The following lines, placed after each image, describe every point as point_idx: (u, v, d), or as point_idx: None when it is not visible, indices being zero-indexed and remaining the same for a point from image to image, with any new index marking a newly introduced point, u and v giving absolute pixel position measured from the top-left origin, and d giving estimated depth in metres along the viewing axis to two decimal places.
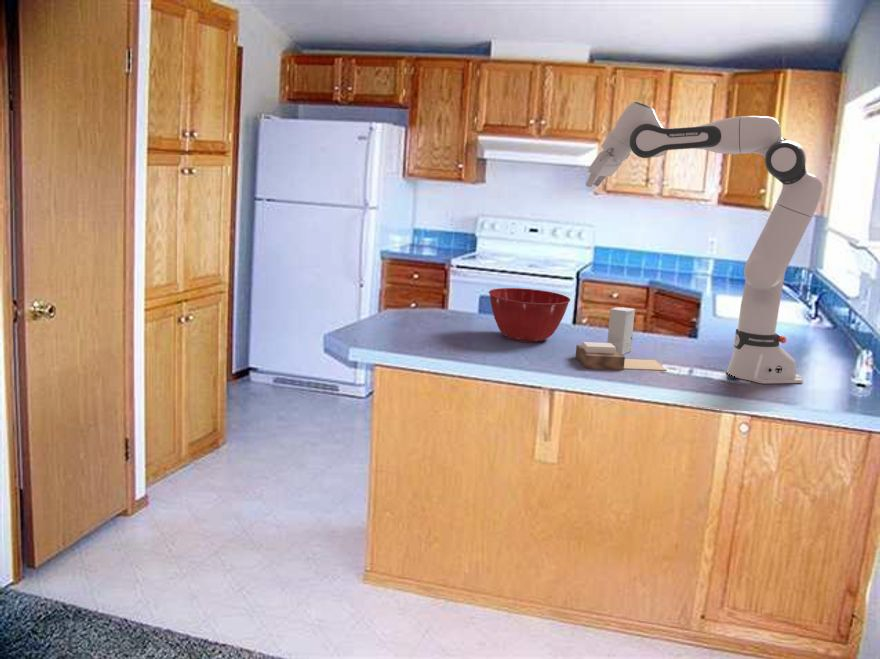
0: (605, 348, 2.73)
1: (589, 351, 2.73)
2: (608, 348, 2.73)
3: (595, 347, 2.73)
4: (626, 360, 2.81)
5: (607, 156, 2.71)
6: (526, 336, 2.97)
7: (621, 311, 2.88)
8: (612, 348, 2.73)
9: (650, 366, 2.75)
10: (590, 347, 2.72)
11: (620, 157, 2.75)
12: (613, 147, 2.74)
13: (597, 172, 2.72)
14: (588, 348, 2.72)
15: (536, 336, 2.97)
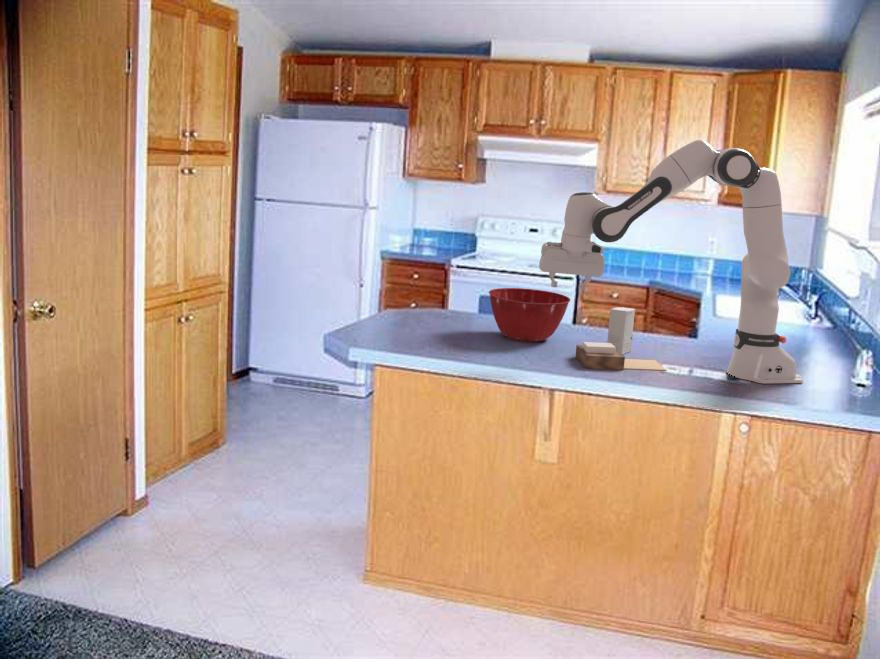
0: (605, 348, 2.73)
1: (589, 351, 2.73)
2: (608, 348, 2.73)
3: (595, 347, 2.73)
4: (626, 360, 2.81)
5: (547, 249, 2.69)
6: (526, 336, 2.97)
7: (621, 311, 2.88)
8: (612, 348, 2.73)
9: (650, 366, 2.75)
10: (590, 347, 2.72)
11: (568, 248, 2.67)
12: (561, 241, 2.70)
13: (541, 267, 2.69)
14: (588, 348, 2.72)
15: (536, 336, 2.97)
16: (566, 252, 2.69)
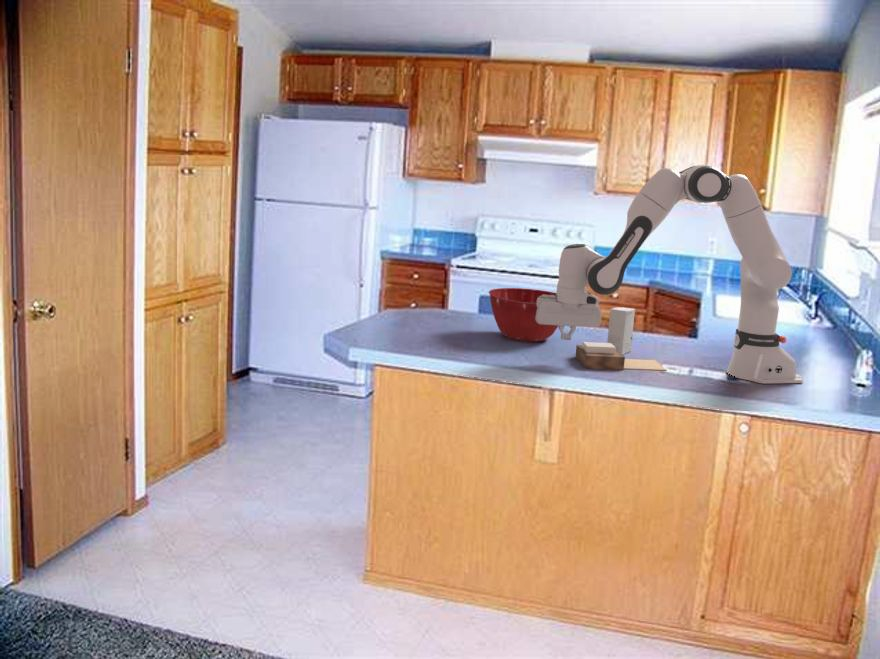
0: (605, 348, 2.73)
1: (589, 351, 2.73)
2: (608, 348, 2.73)
3: (595, 347, 2.73)
4: (626, 360, 2.81)
5: (541, 302, 2.70)
6: (526, 336, 2.97)
7: (621, 311, 2.88)
8: (612, 348, 2.73)
9: (650, 366, 2.75)
10: (590, 347, 2.72)
11: (563, 300, 2.68)
12: (556, 293, 2.71)
13: (537, 319, 2.71)
14: (588, 348, 2.72)
15: (536, 336, 2.97)
16: (561, 304, 2.70)
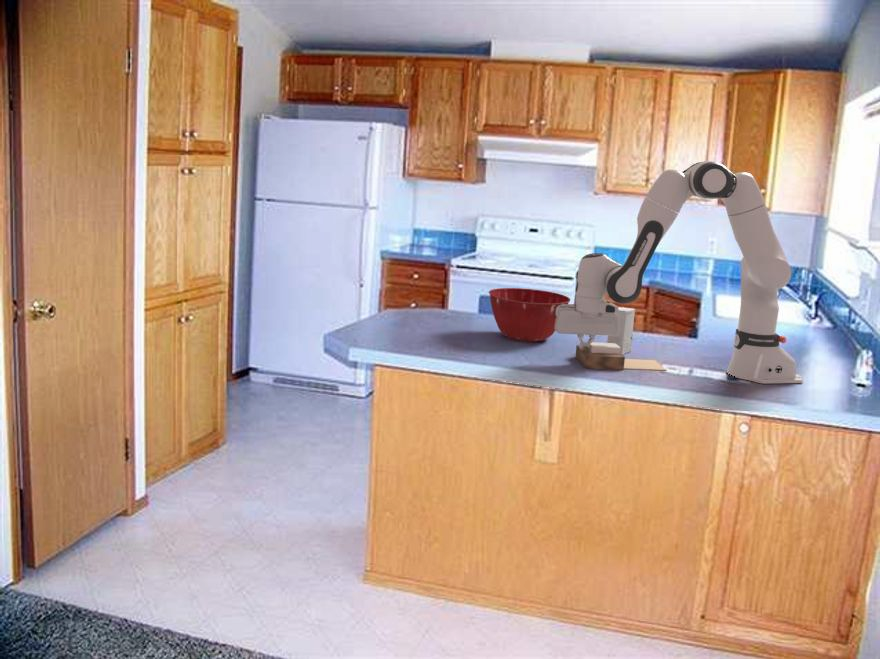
0: (610, 348, 2.73)
1: (594, 351, 2.73)
2: (613, 348, 2.73)
3: (600, 347, 2.73)
4: (626, 360, 2.81)
5: (561, 311, 2.71)
6: (526, 336, 2.97)
7: (621, 311, 2.88)
8: (617, 348, 2.73)
9: (650, 366, 2.75)
10: (595, 347, 2.73)
11: (582, 310, 2.69)
12: (575, 302, 2.72)
13: (556, 329, 2.72)
14: (593, 348, 2.73)
15: (536, 336, 2.97)
16: (580, 313, 2.71)
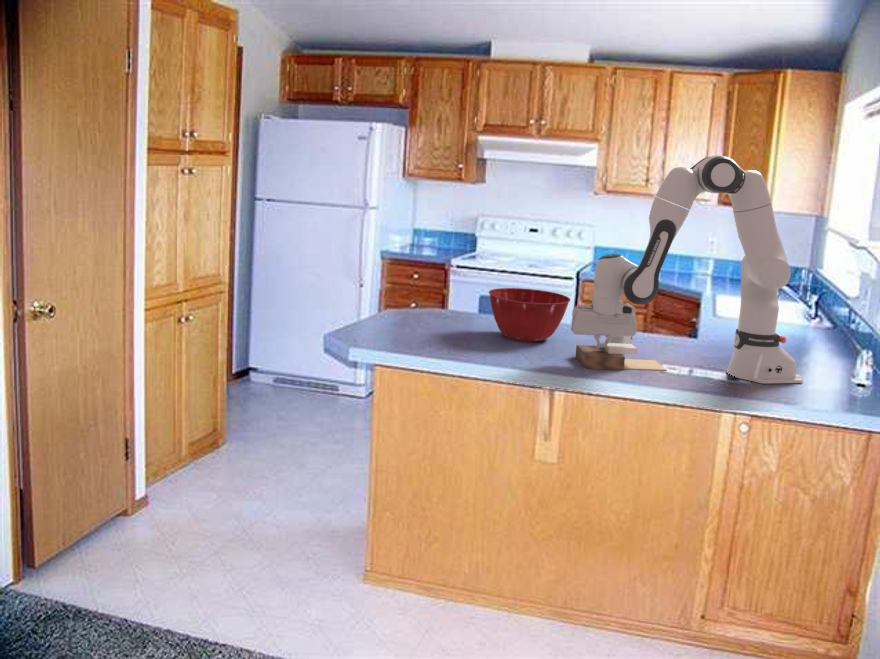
0: (627, 349, 2.73)
1: (611, 352, 2.73)
2: (630, 349, 2.73)
3: (617, 348, 2.73)
4: (626, 360, 2.81)
5: (577, 312, 2.72)
6: (526, 336, 2.97)
7: None
8: (634, 349, 2.74)
9: (650, 366, 2.75)
10: (612, 348, 2.73)
11: (599, 310, 2.70)
12: (592, 303, 2.72)
13: (573, 329, 2.72)
14: (610, 349, 2.73)
15: (536, 336, 2.97)
16: (597, 314, 2.71)
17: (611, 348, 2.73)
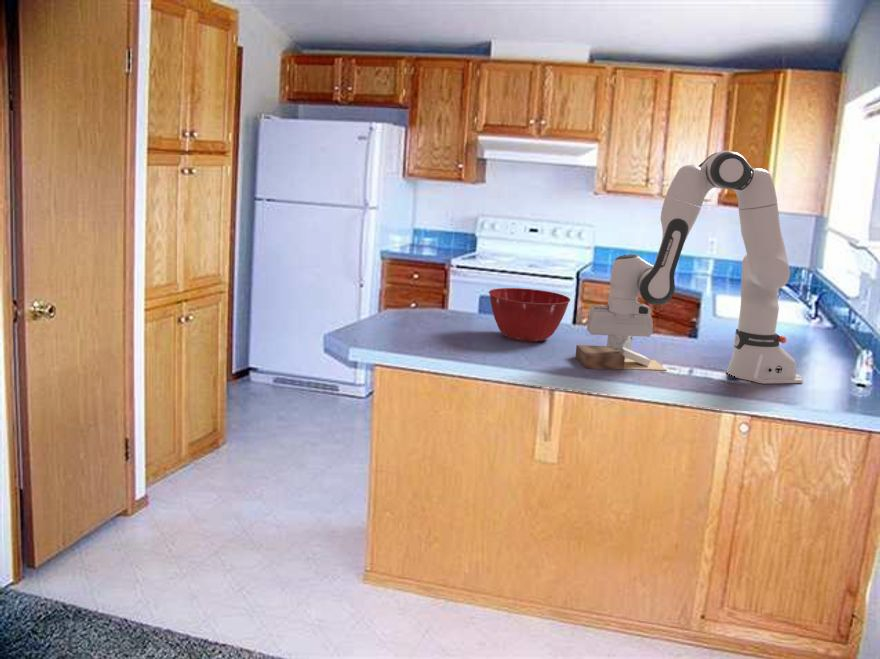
0: (641, 358, 2.74)
1: (625, 355, 2.74)
2: (643, 359, 2.75)
3: (632, 354, 2.74)
4: (626, 360, 2.81)
5: (594, 312, 2.72)
6: (526, 336, 2.97)
7: None
8: (647, 360, 2.75)
9: (650, 366, 2.75)
10: (627, 352, 2.74)
11: (615, 311, 2.70)
12: (608, 304, 2.73)
13: (589, 330, 2.73)
14: (625, 352, 2.74)
15: (536, 336, 2.97)
16: (613, 314, 2.72)
17: (627, 352, 2.74)
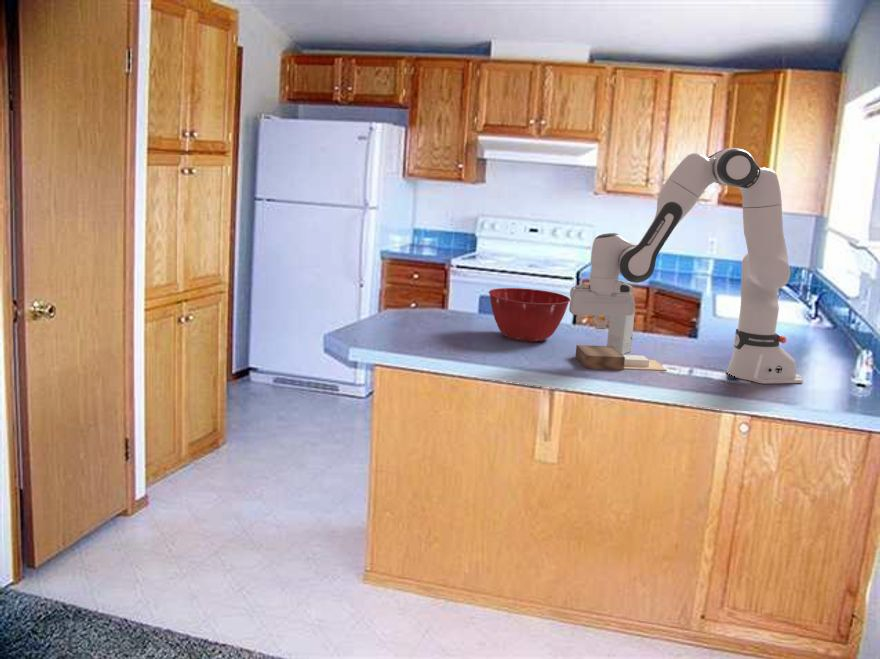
0: (639, 361, 2.75)
1: None
2: (642, 361, 2.75)
3: (629, 360, 2.74)
4: None
5: (575, 292, 2.71)
6: (526, 336, 2.97)
7: None
8: (646, 361, 2.75)
9: (650, 366, 2.75)
10: None
11: (596, 290, 2.69)
12: (589, 283, 2.72)
13: (571, 310, 2.72)
14: None
15: (536, 336, 2.97)
16: (595, 294, 2.71)
17: None
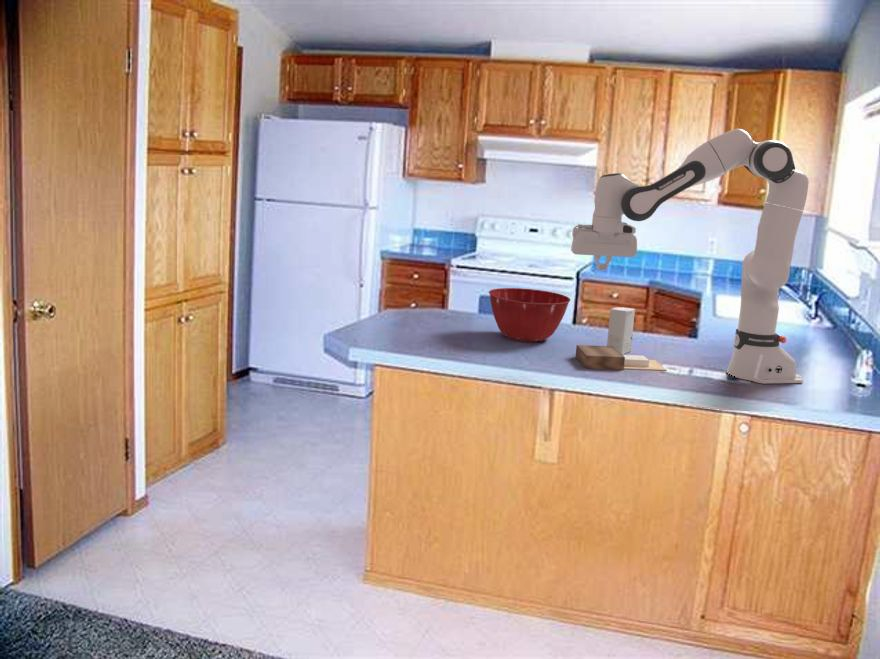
0: (639, 361, 2.75)
1: None
2: (642, 361, 2.75)
3: (629, 360, 2.74)
4: None
5: (578, 232, 2.71)
6: (526, 336, 2.97)
7: (621, 311, 2.88)
8: (646, 361, 2.75)
9: (650, 366, 2.75)
10: None
11: (599, 229, 2.68)
12: (592, 223, 2.71)
13: (573, 249, 2.71)
14: None
15: (536, 336, 2.97)
16: (597, 234, 2.70)
17: None
